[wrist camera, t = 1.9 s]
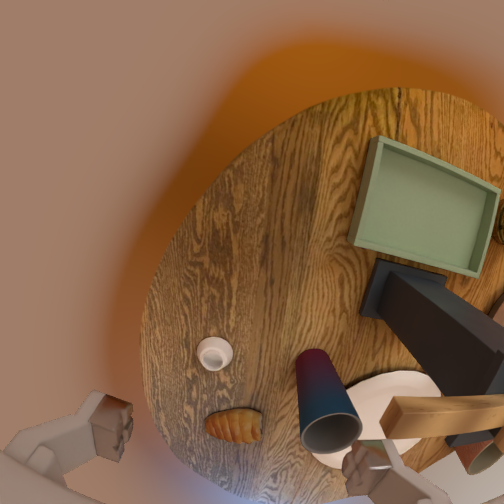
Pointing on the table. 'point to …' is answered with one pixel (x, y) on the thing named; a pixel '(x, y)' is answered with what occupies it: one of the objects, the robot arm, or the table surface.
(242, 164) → the table surface
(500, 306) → the bowl
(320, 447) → the cup
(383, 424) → the brush
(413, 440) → the plate
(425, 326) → the stand
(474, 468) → the planter
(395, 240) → the tray
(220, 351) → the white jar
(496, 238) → the brass bell weight
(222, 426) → the pastry
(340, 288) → the table surface
